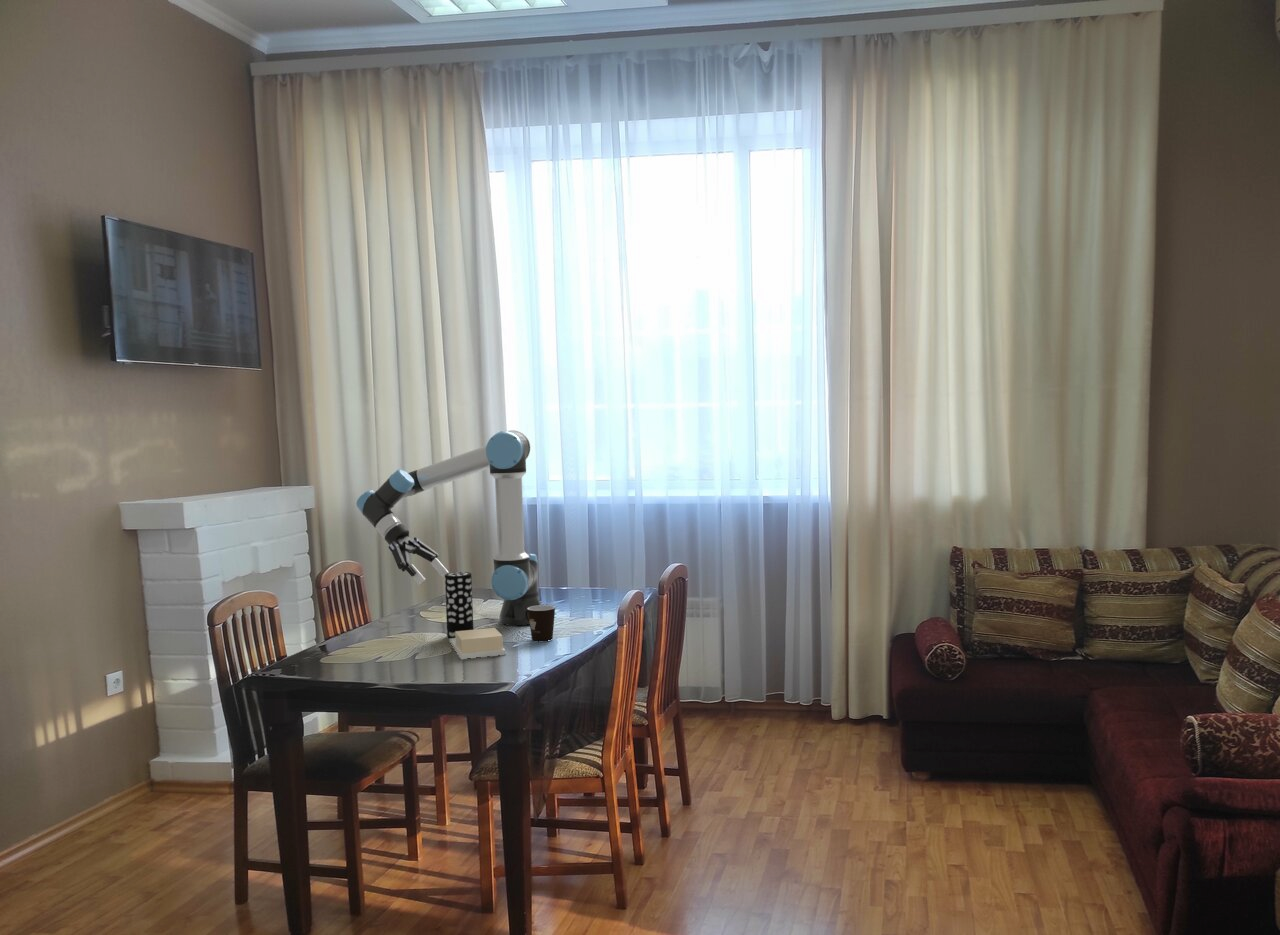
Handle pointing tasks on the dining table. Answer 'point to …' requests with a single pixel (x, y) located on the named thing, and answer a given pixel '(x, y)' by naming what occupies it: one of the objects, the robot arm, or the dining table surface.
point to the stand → (478, 643)
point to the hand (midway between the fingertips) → (434, 578)
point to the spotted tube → (458, 602)
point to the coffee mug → (541, 622)
